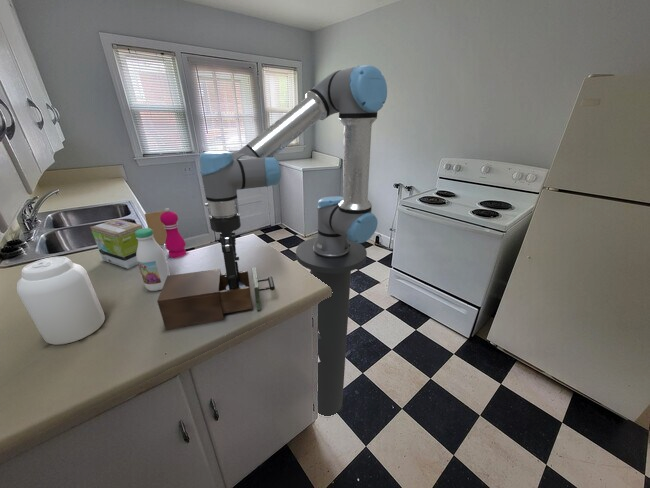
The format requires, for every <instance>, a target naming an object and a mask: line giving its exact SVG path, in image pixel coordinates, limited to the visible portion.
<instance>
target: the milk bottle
mask: <svg viewBox="0 0 650 488" xmlns="http://www.w3.org/2000/svg"><path fill="white" fill-rule="evenodd" d="M142 228H143V227H142ZM135 236H136V239H138V247H137V252H136V257H137V261H138V265H137V266H138V268H139V272H140V274H141V277H142V280H143V284H144V287H145V289H146V290H148V291H151V292H155V291H156V292H158V291H161V290H162V288H163V286H164V283H165V281H166V278H167V276H169V275H171V273H170V268H169V265H168V262H167V258H166V255H165V252H164V250H163V248H162V246H161V245H159V244H158V243H157V242H156V241H155V239H154V238H153V236H154V235H153V231H152V229H150V228H148V227H144V228H143V229H139V230H137V231H135Z"/></svg>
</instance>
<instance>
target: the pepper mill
mask: <svg viewBox="0 0 650 488" xmlns="http://www.w3.org/2000/svg"><path fill="white" fill-rule="evenodd" d="M164 211H165V212H164V213H162V214H161V216H160V220H161V222H162V223H163V224H164V225H163V226H164V228H165V229H166V232H167V237H166V242H165V244H164V245H165V249H166V250H167V251H168V256H169V257H170V258H173V259H175V258H176V259H177V258H181V257H184V256H185V255H186V254H187V250H186V248H185V247H186V241H185V239H184V237H183V236H182V235H181V234H180V231H179V228H178V227H179V223H178V220H179V217H178V214H177V213H176V212H175V211H172V210H171V209H170V208H169V207H165V208H164Z"/></svg>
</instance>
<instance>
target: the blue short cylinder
mask: <svg viewBox="0 0 650 488" xmlns="http://www.w3.org/2000/svg"><path fill="white" fill-rule="evenodd" d="M242 287H246V286H245V284H243V283H241V282H239V288H242ZM226 290H229V285H227V286H226Z"/></svg>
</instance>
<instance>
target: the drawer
mask: <svg viewBox="0 0 650 488" xmlns="http://www.w3.org/2000/svg"><path fill="white" fill-rule="evenodd" d="M251 273H252V274H251V275H252V281H253V282H252V283H253V290H254V291H253V292H254V299H255V306H256V311H260V310H262V306H261V297H260V296H261V295H260V292H261V291H268V290H270V291H272V292H273V291H275V290H276V286H275V283H274V279H273V276H272V275H269V276H268V277H265V278H259V279H258V275H257V273H258V272H257V268H256V267H252V268H251ZM224 276H227V275H226V272H225V273H221V275H220V287H219V295H220V300H221V306H222V311H223V314H224V315H225V314H230V313H235V312H241V311H246V310H252V309H253V303H252V295H251V286H250V279H249V270H241V271H240V270H239V278H240V281H239V282H241V283H243V284H245V286H246V287H242V288H235V289H229V290H226V286H227V285H228V279H227V278H224ZM267 281H268V286H264V287H260V286H259V283H260V282H267Z"/></svg>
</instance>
